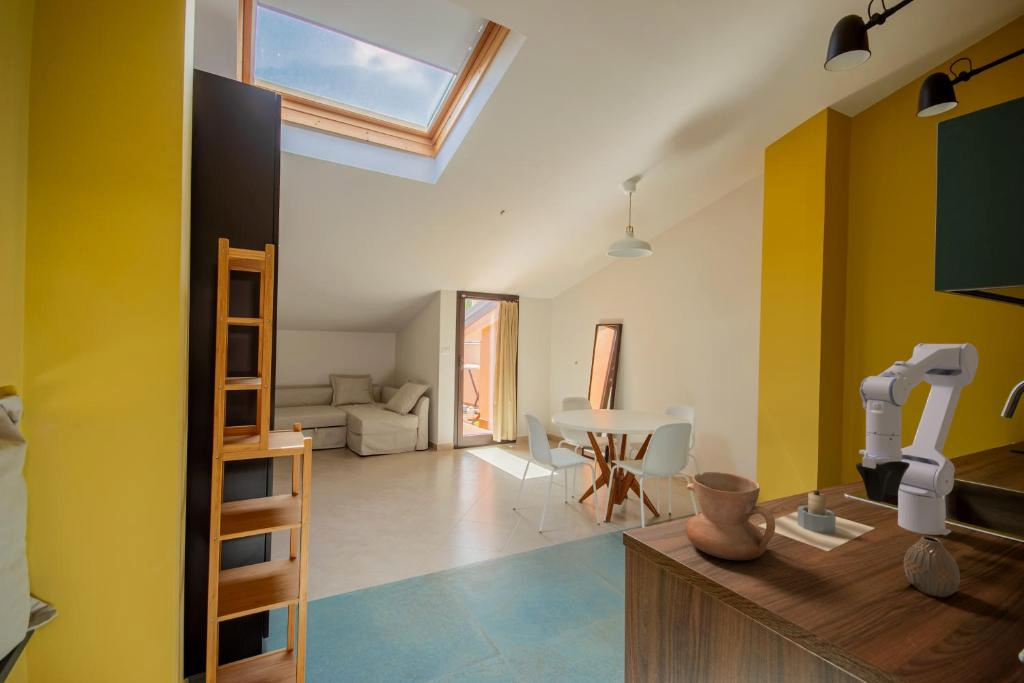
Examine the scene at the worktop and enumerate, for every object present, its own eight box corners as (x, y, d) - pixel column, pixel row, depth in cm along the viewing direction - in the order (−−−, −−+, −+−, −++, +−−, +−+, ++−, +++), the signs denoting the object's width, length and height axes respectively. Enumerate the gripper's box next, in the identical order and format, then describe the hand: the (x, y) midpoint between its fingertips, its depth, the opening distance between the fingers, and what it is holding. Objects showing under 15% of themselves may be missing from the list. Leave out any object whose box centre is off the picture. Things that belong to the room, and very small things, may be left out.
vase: (971, 605, 71) (971, 550, 71) (921, 599, 72) (921, 545, 72) (939, 582, 78) (939, 532, 78) (894, 577, 79) (894, 528, 79)
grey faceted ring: (807, 518, 104) (807, 503, 104) (840, 529, 98) (840, 513, 98) (791, 524, 100) (791, 509, 100) (825, 535, 94) (826, 519, 94)
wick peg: (812, 523, 101) (812, 487, 101) (828, 527, 98) (828, 491, 99) (805, 525, 99) (805, 490, 99) (821, 531, 97) (821, 494, 97)
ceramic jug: (665, 541, 92) (666, 474, 92) (708, 526, 100) (710, 464, 100) (749, 584, 77) (751, 503, 77) (793, 562, 84) (795, 488, 84)
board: (806, 510, 111) (806, 507, 111) (874, 531, 99) (874, 528, 99) (757, 529, 99) (757, 525, 99) (827, 555, 87) (827, 551, 87)
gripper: (874, 426, 101) (874, 486, 101) (845, 432, 93) (844, 497, 93) (914, 432, 95) (914, 495, 95) (887, 439, 87) (886, 508, 87)
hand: (882, 497), depth 94 cm, fingers open, 7 cm apart
